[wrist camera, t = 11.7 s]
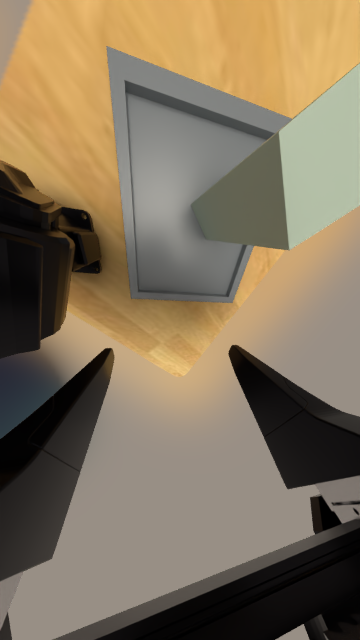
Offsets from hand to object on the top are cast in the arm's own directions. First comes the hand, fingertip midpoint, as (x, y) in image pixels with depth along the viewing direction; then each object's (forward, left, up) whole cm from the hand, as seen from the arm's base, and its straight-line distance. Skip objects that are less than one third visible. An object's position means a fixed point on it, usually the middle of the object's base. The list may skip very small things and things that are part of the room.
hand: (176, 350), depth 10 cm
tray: (+3, +8, -13) cm, 16 cm away
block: (+5, +10, -12) cm, 16 cm away
